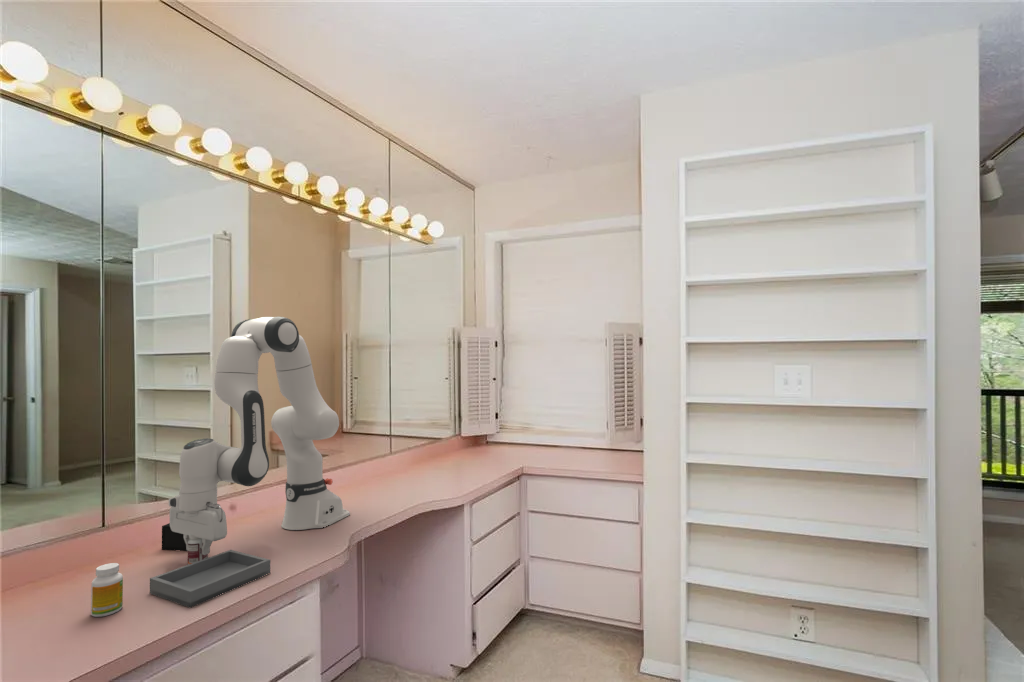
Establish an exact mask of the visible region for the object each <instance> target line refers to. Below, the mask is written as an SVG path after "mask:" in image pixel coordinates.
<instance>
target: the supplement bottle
mask: <svg viewBox="0 0 1024 682" xmlns="http://www.w3.org/2000/svg"><path fill="white" fill-rule="evenodd" d="M119 571H120V564H119V563H117V562H112V563H111V562H110V563H105V564H102V565H99V566H98V567H96V568H95V576H96V577H94V578H93V580H92V581H91V590H90V592H91V594H90V597H91V598H90V599H91V600H90V601H91V602H90V605H91V606H90V615H91V616H92V617H95V618H103V617H106V616H110V615H113V614H116V613H118V612H119V611H121V610H122V608H123V604H124V603H123V597H124V596H123V592H124V590H123V589H124V575H123V574H122V573H120V572H119Z"/></svg>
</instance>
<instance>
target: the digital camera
mask: <svg viewBox="0 0 1024 682" xmlns="http://www.w3.org/2000/svg"><path fill="white" fill-rule="evenodd" d="M183 537H184V534H181V533H177V532H173V531H172V530H171V528H170V522H169V523H166V524H163V525H162V526H161V551H176V550H180V552H188V551H187V550H186V543H185V540H184V538H183Z"/></svg>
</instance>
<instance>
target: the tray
mask: <svg viewBox="0 0 1024 682" xmlns="http://www.w3.org/2000/svg"><path fill="white" fill-rule="evenodd" d="M268 573H270V574H271V559H270V558H269V559H268V558H265V557H260V556H258V555H254V554H249V553H246V552H241V551H237V550H233V549H229V550H226V551H223V552H221V553H217V554H214V555H212V556H208V558H206V559H203V560H200V561H197V562H194V563H192V564H189V565H188V564H187V565H184V566H180V567H177V568H175V569H172V570H169V571H166V572H164V573H162V574H159V575H158V574H157V575H154V576H152V577H150V578H149V594H150V593H151V594H150V595H153V596H156V597H159V598H161V599H165V600H167V601H169V602H173V603H175V604H178V605H181V606H184V607H186V606H187V608H189V607H191V608H193V607H196V606H198V605H200V604H202V603H204V602H207V601H210V600H212V599H214V598H217V597H219V596H221V595H223V594H222V593H224V594H226V593H228V592H230V590H231V591H233V590H235V589H238V588H240V587H242V586H244V585H243V584H245V585H247V584H249V583H251V582H250V581H252V582H254V581H256V580H259V579H261V578H263V577H265V576H264V575H266V574H268ZM268 575H269V574H268ZM262 576H263V577H262ZM266 576H267V575H266ZM260 577H261V578H260ZM258 578H259V579H258ZM255 579H256V580H255ZM253 580H254V581H253ZM248 582H249V583H248ZM246 583H247V584H246ZM241 585H242V586H241ZM239 586H240V587H239ZM237 587H238V588H237ZM234 588H235V589H234ZM232 589H233V590H232ZM225 592H226V593H225ZM220 594H221V595H220ZM218 595H219V596H218ZM216 596H217V597H216ZM213 597H214V598H213ZM197 604H198V605H197ZM195 605H196V606H195ZM192 606H193V607H192Z"/></svg>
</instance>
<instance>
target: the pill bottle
mask: <svg viewBox="0 0 1024 682" xmlns="http://www.w3.org/2000/svg"><path fill="white" fill-rule="evenodd" d="M189 539H190V540H189V541H188V551H187V565H189V564H192V563H194V562H197V561H200V560H203V559H206V558H209V554H206V555H202V554H200V548H202V546H203V543H204V542H202V539H201V538H197V537H194V535H193V534H189Z"/></svg>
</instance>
